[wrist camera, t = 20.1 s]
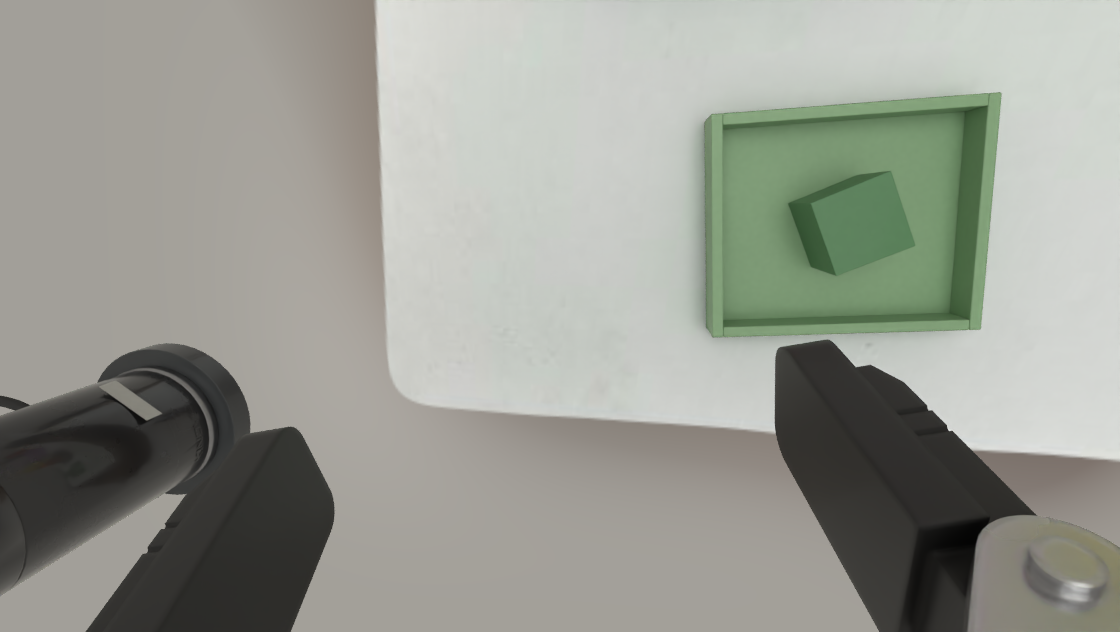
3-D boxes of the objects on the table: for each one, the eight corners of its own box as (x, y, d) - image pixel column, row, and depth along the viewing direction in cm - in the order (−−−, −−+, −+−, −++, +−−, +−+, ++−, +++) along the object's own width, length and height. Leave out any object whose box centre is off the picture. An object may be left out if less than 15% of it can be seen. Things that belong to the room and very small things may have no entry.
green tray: (706, 327, 35) (712, 337, 32) (704, 121, 32) (711, 114, 30) (953, 320, 33) (981, 330, 30) (971, 101, 30) (1002, 91, 28)
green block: (810, 267, 33) (836, 276, 29) (787, 203, 32) (810, 203, 28) (880, 240, 32) (916, 245, 28) (858, 174, 31) (891, 170, 27)
